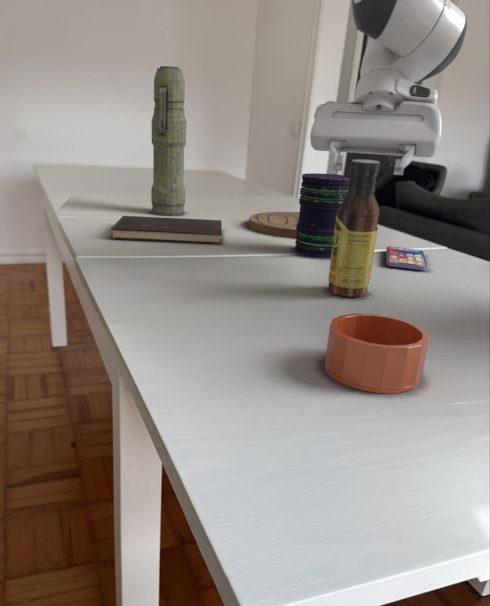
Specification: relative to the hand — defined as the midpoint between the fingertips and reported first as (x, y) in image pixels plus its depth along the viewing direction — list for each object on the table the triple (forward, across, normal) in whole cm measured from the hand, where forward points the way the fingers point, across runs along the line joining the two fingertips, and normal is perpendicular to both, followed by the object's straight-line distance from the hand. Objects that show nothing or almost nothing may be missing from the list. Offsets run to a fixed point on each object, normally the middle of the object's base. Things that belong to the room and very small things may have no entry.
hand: (367, 170), depth 86 cm
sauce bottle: (+18, 0, +7) cm, 20 cm away
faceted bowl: (+39, +6, -13) cm, 41 cm away
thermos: (-19, -53, +45) cm, 72 cm away
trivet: (-17, -16, +43) cm, 49 cm away
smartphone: (-1, +9, +27) cm, 28 cm away
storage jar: (0, -8, +26) cm, 27 cm away
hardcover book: (-1, -42, +27) cm, 49 cm away
